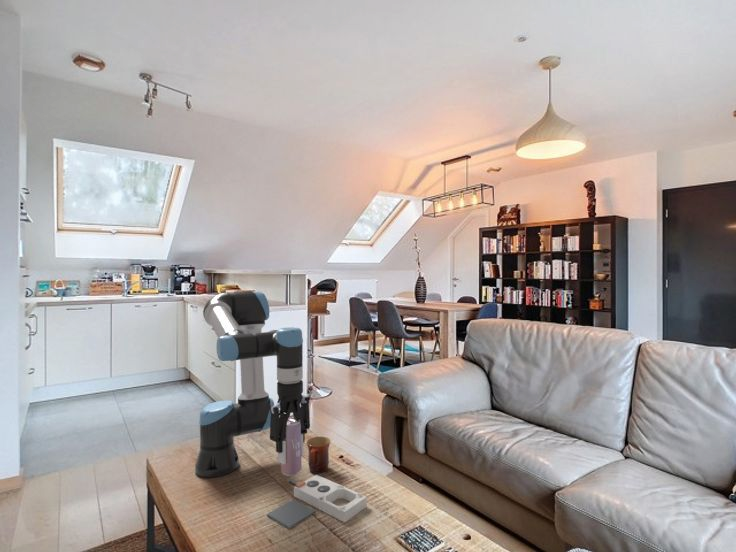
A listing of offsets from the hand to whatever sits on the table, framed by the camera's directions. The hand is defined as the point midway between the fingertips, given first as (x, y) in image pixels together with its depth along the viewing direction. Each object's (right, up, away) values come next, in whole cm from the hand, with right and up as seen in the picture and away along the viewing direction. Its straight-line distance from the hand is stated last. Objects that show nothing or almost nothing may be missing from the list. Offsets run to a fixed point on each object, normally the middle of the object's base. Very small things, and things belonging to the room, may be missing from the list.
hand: (290, 458), depth 121 cm
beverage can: (0, -4, 0) cm, 4 cm away
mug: (+5, -17, +26) cm, 32 cm away
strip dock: (+8, -17, +10) cm, 21 cm away
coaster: (0, -17, 0) cm, 17 cm away
